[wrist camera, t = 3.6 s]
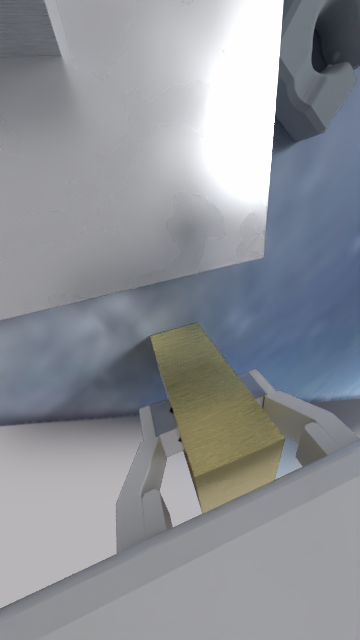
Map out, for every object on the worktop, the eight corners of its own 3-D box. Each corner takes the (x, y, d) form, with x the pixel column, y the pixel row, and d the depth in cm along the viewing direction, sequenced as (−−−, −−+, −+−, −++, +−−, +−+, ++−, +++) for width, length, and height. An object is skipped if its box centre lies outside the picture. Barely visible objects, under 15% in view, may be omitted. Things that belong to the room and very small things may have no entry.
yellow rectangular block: (197, 322, 13) (284, 438, 7) (201, 358, 15) (274, 480, 8) (149, 336, 13) (194, 477, 6) (159, 372, 15) (202, 514, 8)
